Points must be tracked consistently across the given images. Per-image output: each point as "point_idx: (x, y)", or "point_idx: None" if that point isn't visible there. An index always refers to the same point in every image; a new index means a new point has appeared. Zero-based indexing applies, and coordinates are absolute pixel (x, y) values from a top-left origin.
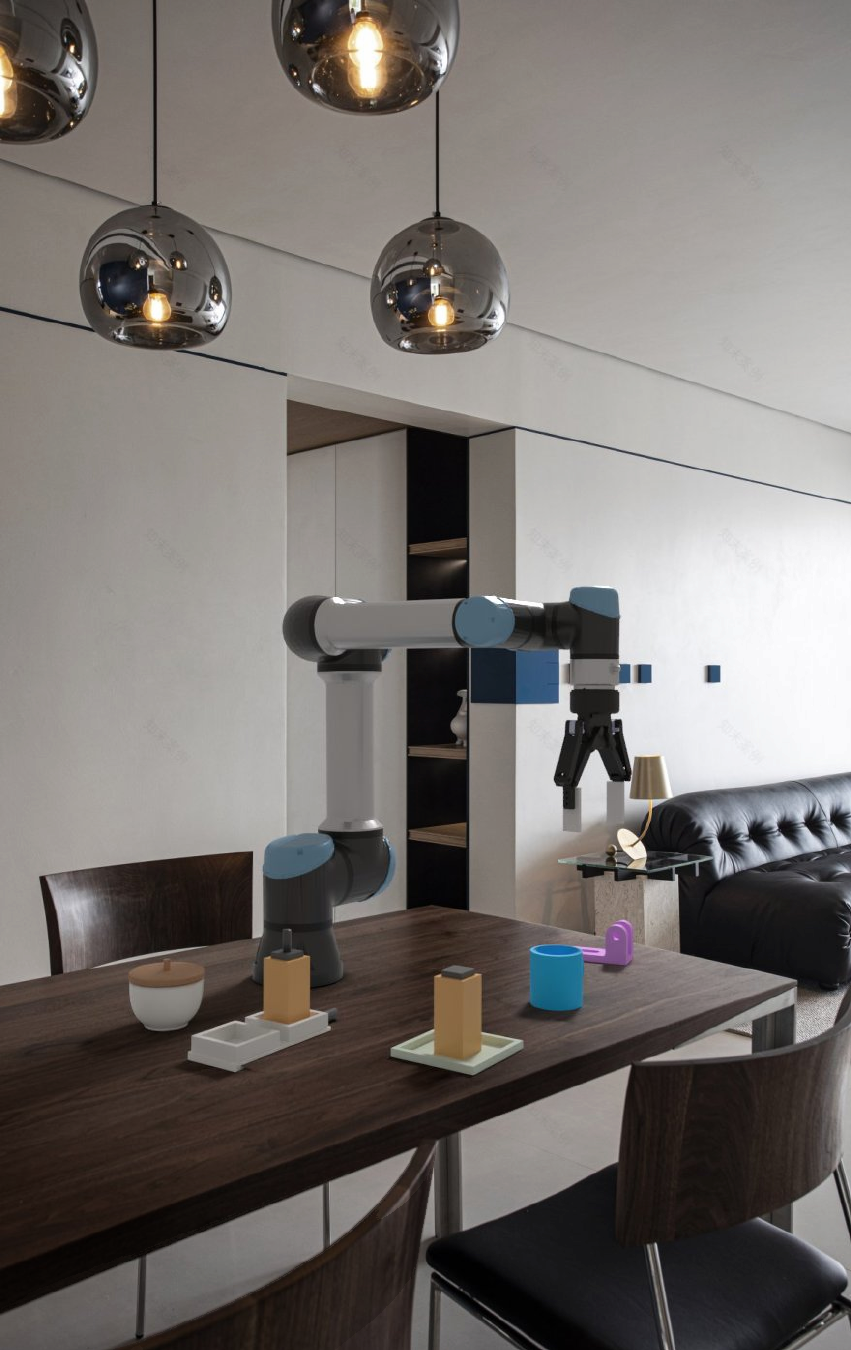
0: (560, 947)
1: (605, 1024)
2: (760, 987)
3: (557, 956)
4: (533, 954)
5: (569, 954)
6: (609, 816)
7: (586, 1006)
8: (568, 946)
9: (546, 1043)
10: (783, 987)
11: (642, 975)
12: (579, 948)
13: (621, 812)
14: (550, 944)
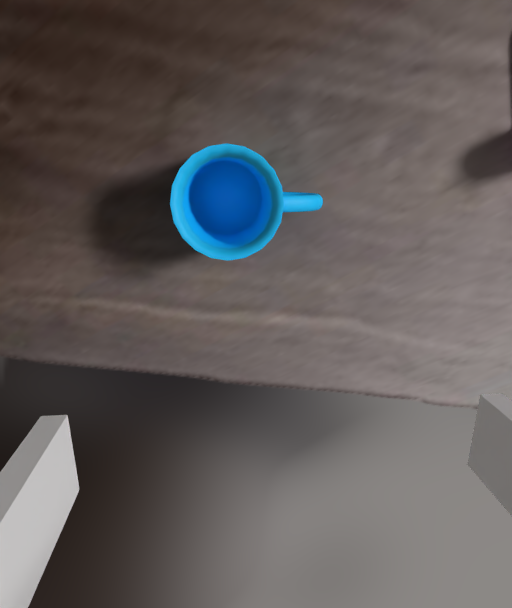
0: (269, 188)
1: (174, 317)
2: None
3: (181, 235)
4: (176, 176)
5: (213, 246)
6: (498, 425)
7: None
8: (274, 206)
9: (35, 299)
10: None
11: (469, 226)
12: (273, 234)
13: (501, 501)
14: (267, 163)
